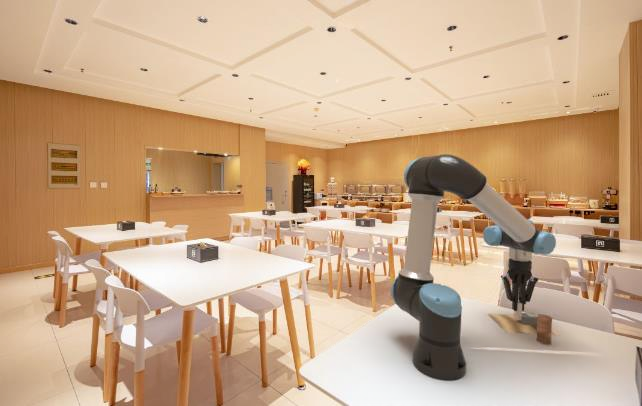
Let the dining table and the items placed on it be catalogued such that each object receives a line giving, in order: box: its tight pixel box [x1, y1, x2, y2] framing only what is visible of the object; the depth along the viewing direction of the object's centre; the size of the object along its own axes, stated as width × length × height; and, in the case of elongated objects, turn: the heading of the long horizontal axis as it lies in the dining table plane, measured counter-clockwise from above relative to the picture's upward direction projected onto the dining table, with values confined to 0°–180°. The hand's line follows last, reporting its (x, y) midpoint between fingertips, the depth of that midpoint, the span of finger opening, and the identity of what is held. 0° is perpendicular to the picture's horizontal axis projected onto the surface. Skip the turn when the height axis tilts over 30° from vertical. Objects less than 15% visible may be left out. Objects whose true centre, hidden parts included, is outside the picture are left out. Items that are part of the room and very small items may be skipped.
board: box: [487, 313, 560, 336], centre depth 118 cm, size 18×16×1 cm
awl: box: [535, 313, 553, 346], centre depth 104 cm, size 4×4×10 cm
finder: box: [517, 312, 538, 325], centre depth 118 cm, size 6×4×3 cm, turn 85°
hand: (517, 318), depth 119 cm, fingers closed
